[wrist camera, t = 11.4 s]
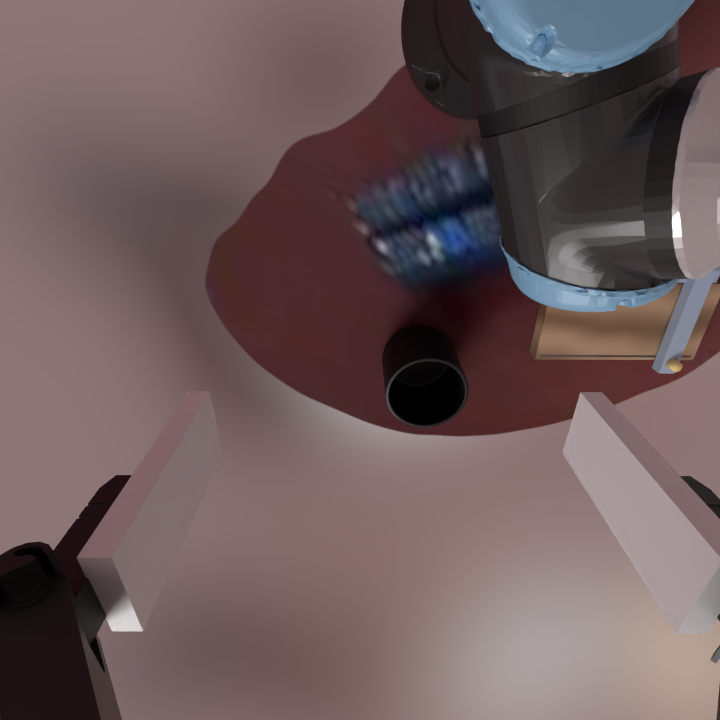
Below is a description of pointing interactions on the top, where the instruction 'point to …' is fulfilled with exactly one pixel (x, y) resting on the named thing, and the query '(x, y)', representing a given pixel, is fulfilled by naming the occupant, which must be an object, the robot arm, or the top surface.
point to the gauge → (683, 322)
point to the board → (616, 330)
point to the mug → (423, 377)
